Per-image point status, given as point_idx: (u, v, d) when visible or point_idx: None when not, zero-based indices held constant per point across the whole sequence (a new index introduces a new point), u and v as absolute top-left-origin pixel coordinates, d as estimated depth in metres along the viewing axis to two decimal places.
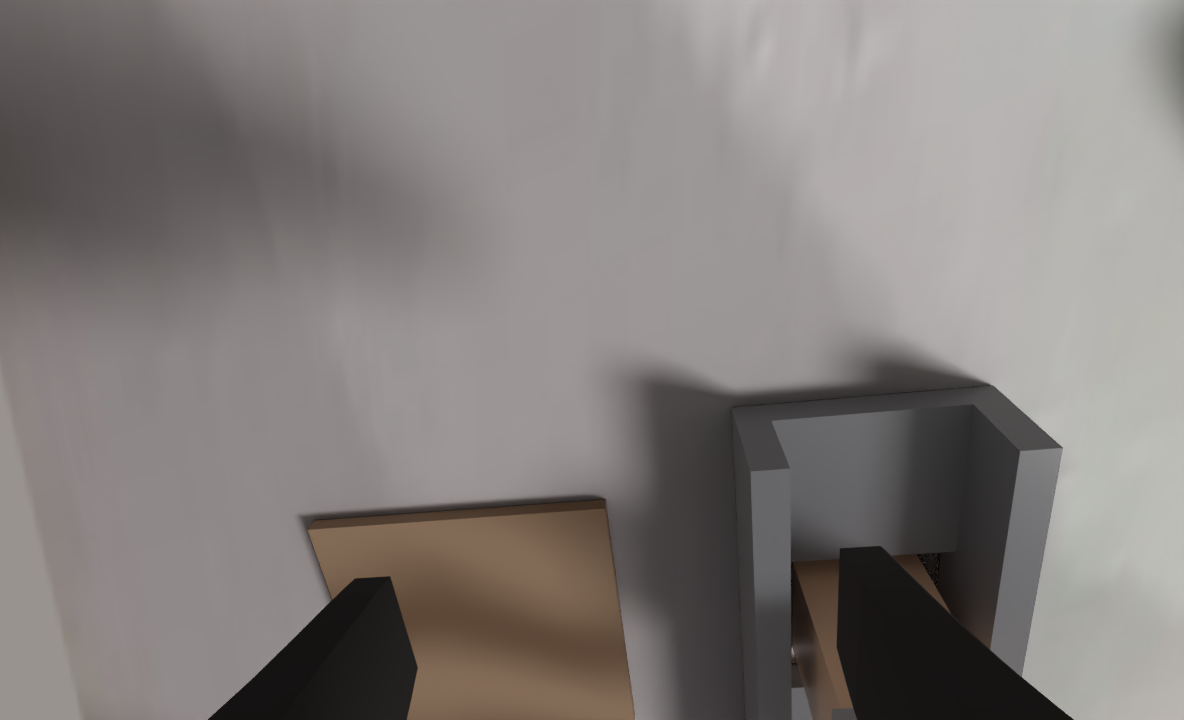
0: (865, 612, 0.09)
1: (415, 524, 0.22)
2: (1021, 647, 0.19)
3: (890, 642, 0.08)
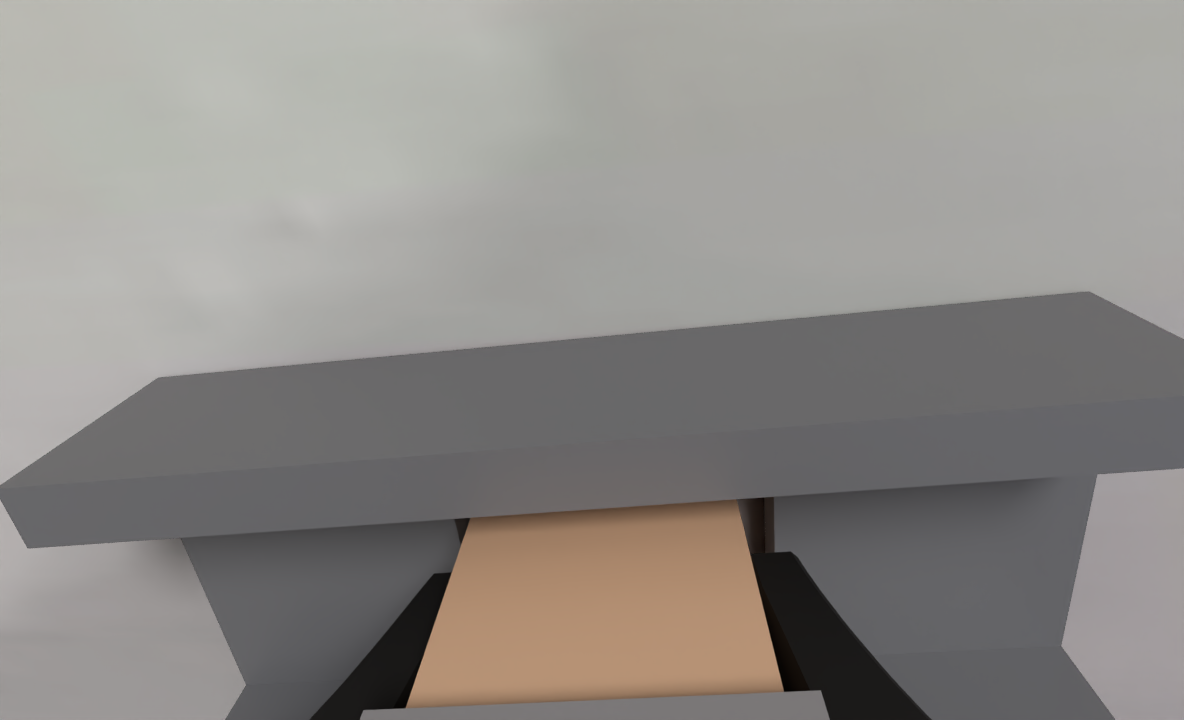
0: (766, 617, 0.09)
1: None
2: (475, 462, 0.09)
3: (782, 647, 0.09)
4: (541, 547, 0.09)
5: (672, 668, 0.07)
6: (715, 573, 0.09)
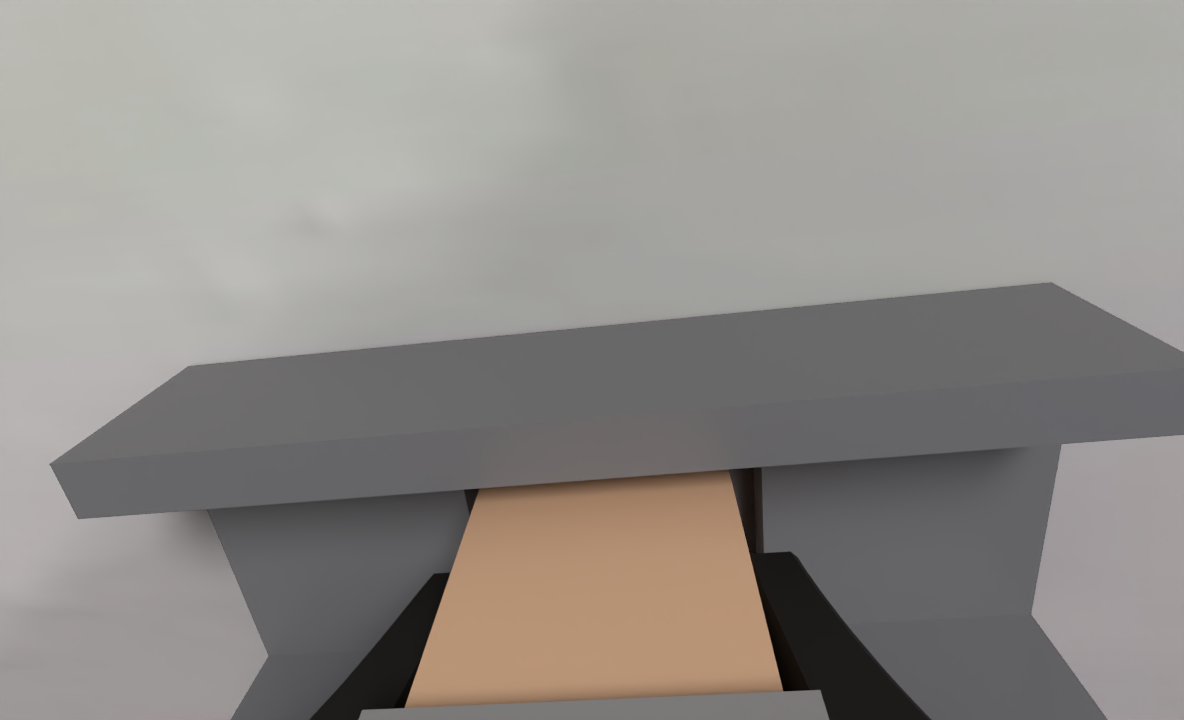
0: (766, 617, 0.09)
1: None
2: (488, 436, 0.10)
3: (782, 647, 0.09)
4: (540, 547, 0.09)
5: (671, 668, 0.07)
6: (715, 572, 0.09)
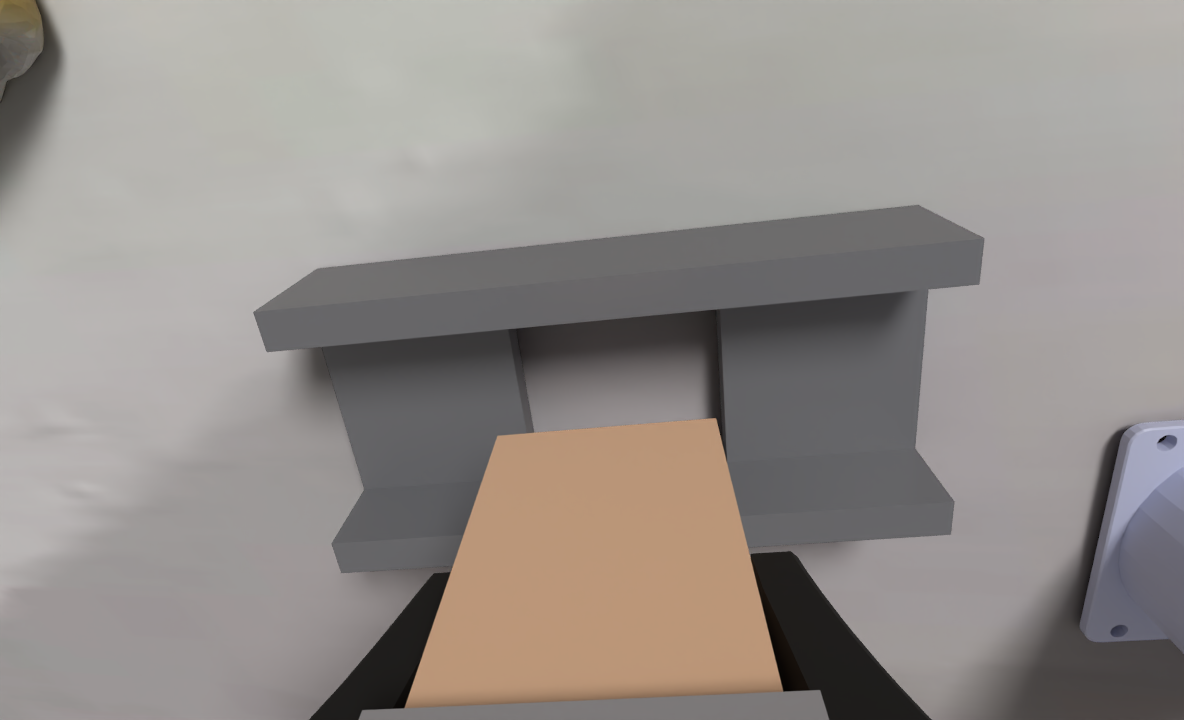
0: (766, 617, 0.09)
1: None
2: (539, 290, 0.15)
3: (782, 647, 0.09)
4: (540, 547, 0.09)
5: (671, 668, 0.07)
6: (714, 571, 0.09)
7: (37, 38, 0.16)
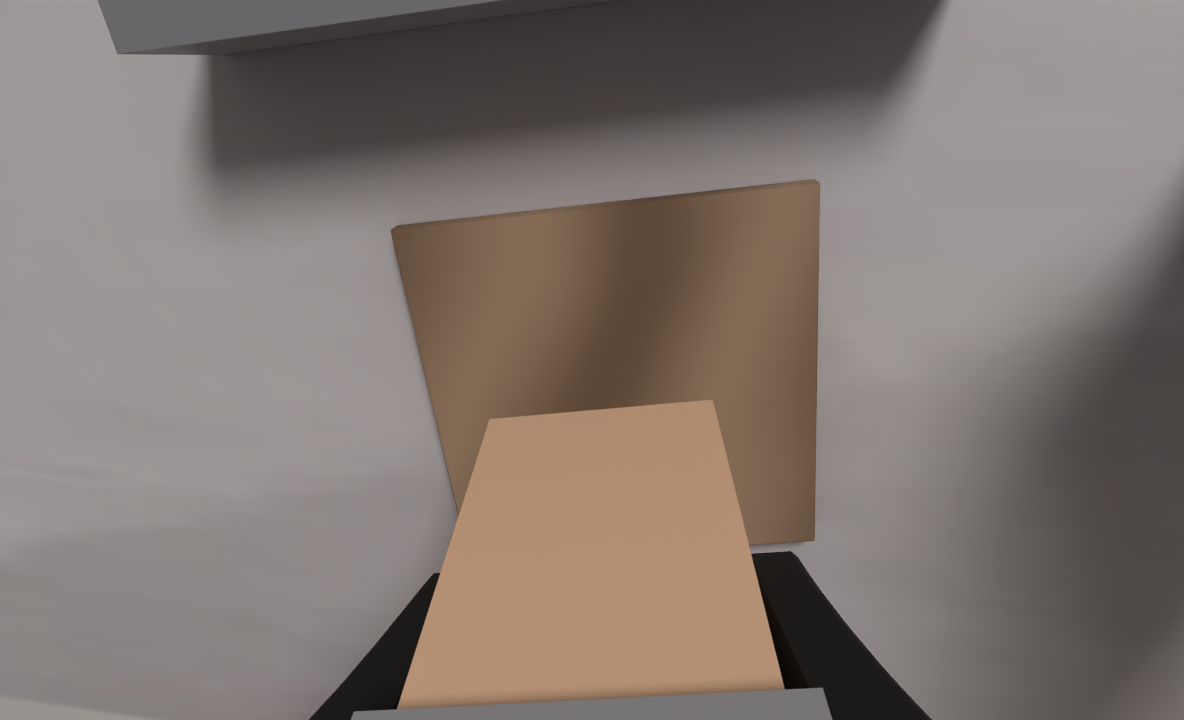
0: None
1: (449, 455, 0.19)
2: None
3: (782, 647, 0.09)
4: (535, 537, 0.09)
5: (670, 663, 0.07)
6: (713, 562, 0.08)
7: None
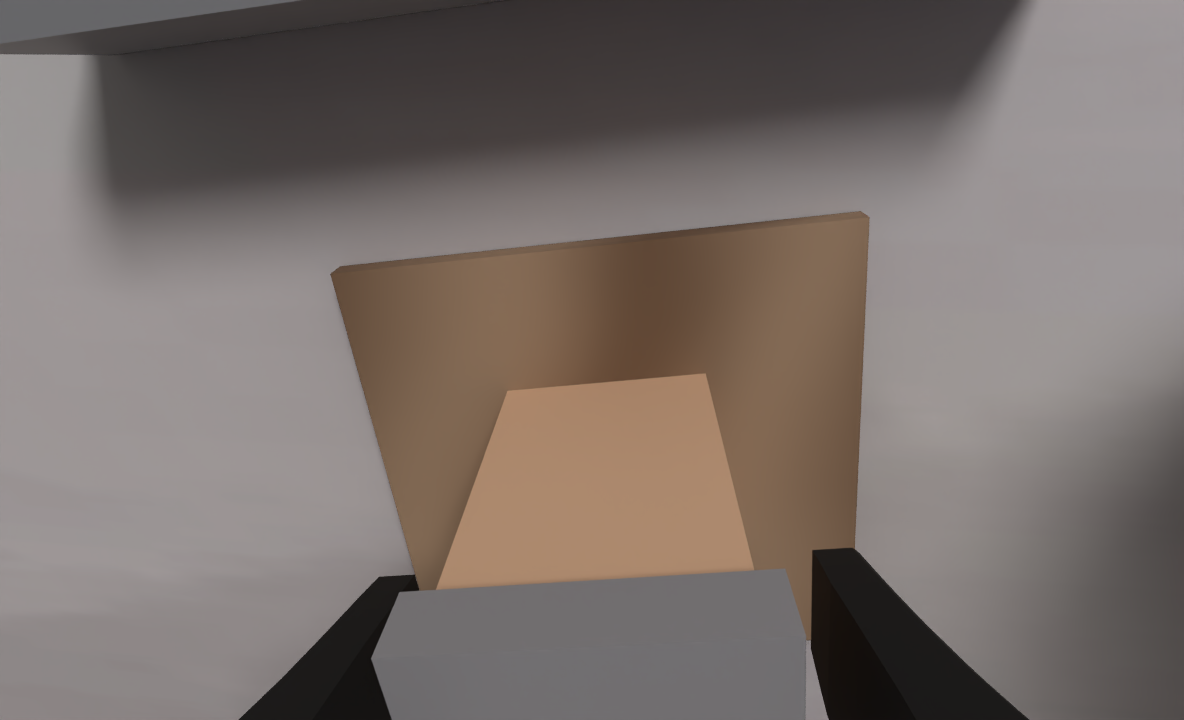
0: (834, 613, 0.09)
1: (411, 538, 0.16)
2: None
3: (856, 644, 0.08)
4: (548, 475, 0.11)
5: (661, 560, 0.09)
6: (700, 491, 0.10)
7: None
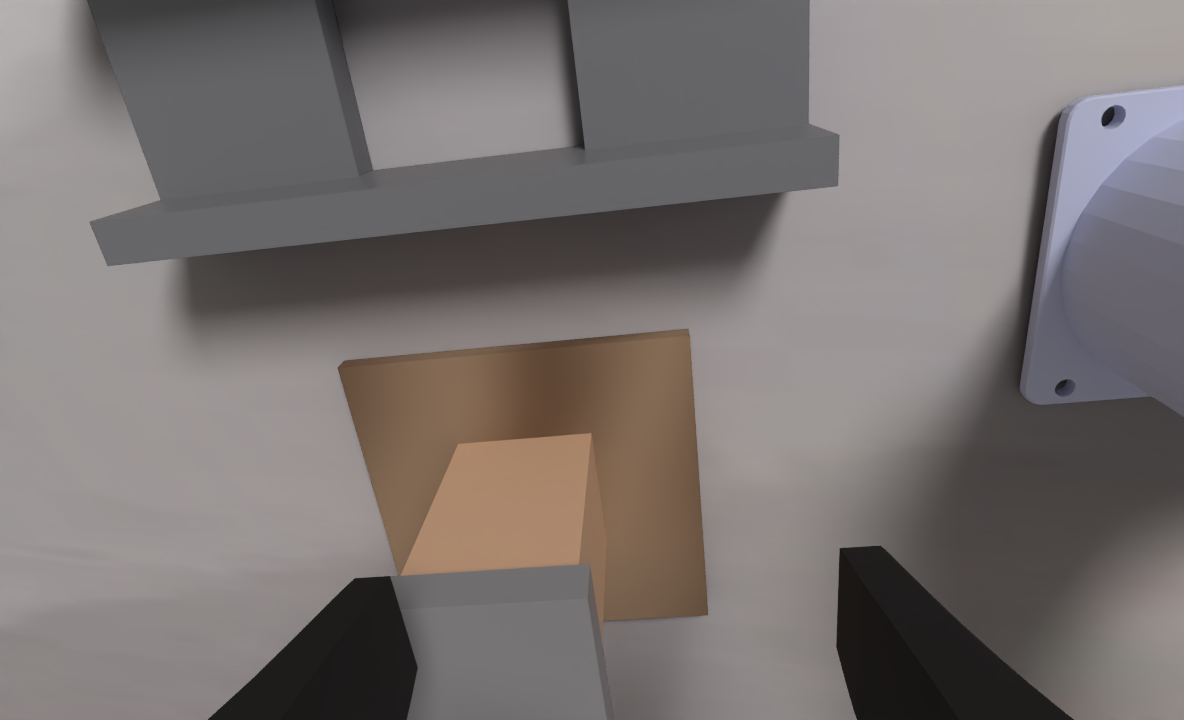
0: (865, 612, 0.09)
1: (394, 544, 0.22)
2: None
3: (890, 642, 0.08)
4: (474, 506, 0.17)
5: (529, 560, 0.15)
6: (563, 517, 0.16)
7: None
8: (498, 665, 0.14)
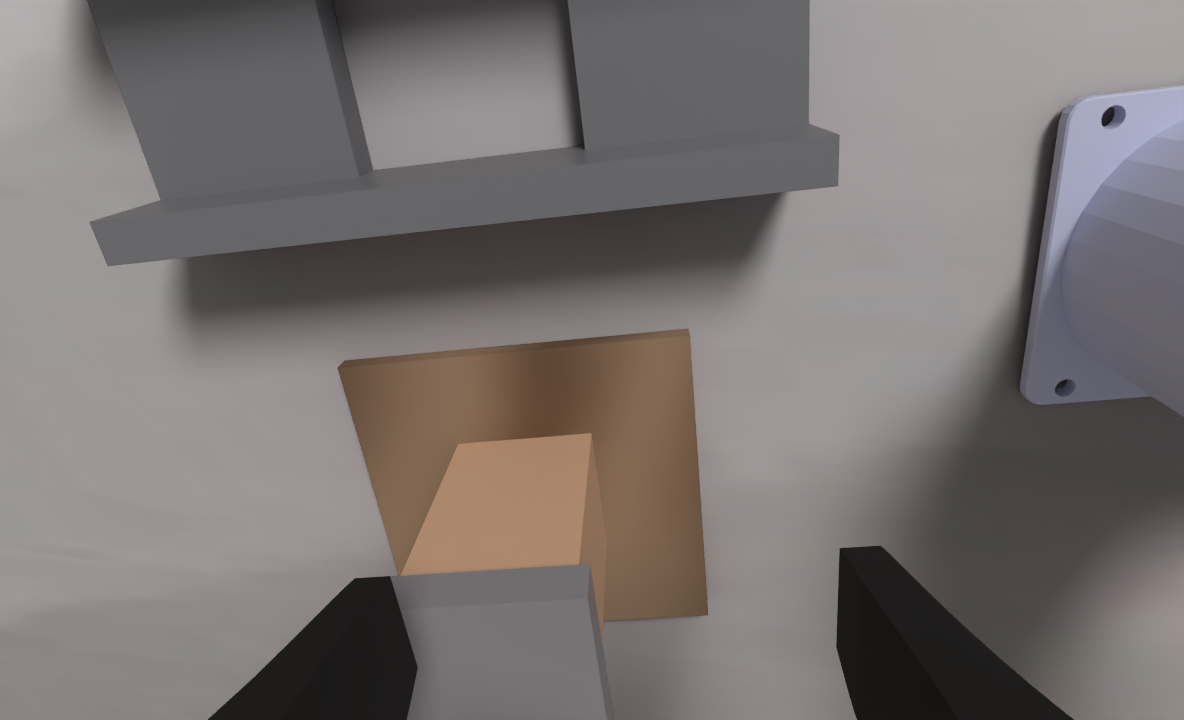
0: (865, 612, 0.09)
1: (394, 544, 0.22)
2: None
3: (890, 642, 0.08)
4: (474, 506, 0.17)
5: (529, 560, 0.15)
6: (563, 517, 0.16)
7: None
8: (498, 665, 0.14)
